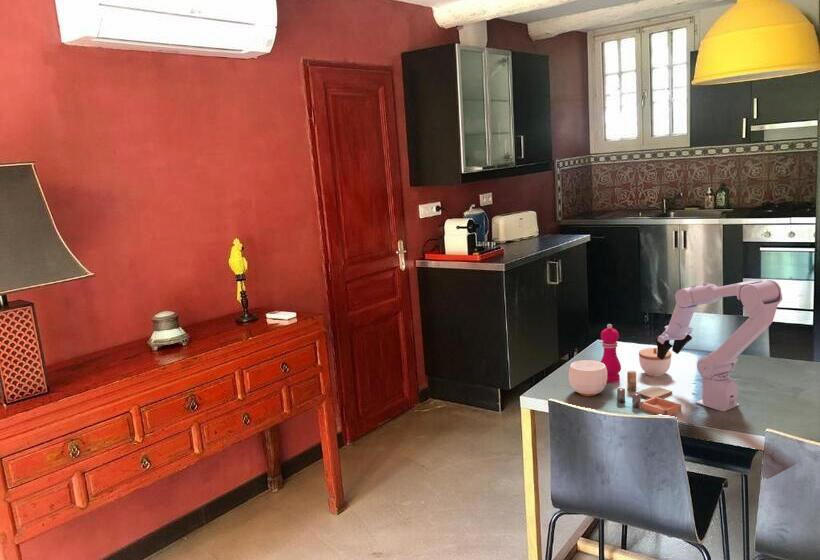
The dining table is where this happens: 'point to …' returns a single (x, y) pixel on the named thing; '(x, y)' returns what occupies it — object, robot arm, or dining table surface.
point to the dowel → (631, 380)
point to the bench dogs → (635, 398)
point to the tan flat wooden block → (654, 392)
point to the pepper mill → (610, 354)
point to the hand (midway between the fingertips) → (667, 355)
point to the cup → (588, 377)
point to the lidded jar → (654, 362)
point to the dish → (660, 406)
